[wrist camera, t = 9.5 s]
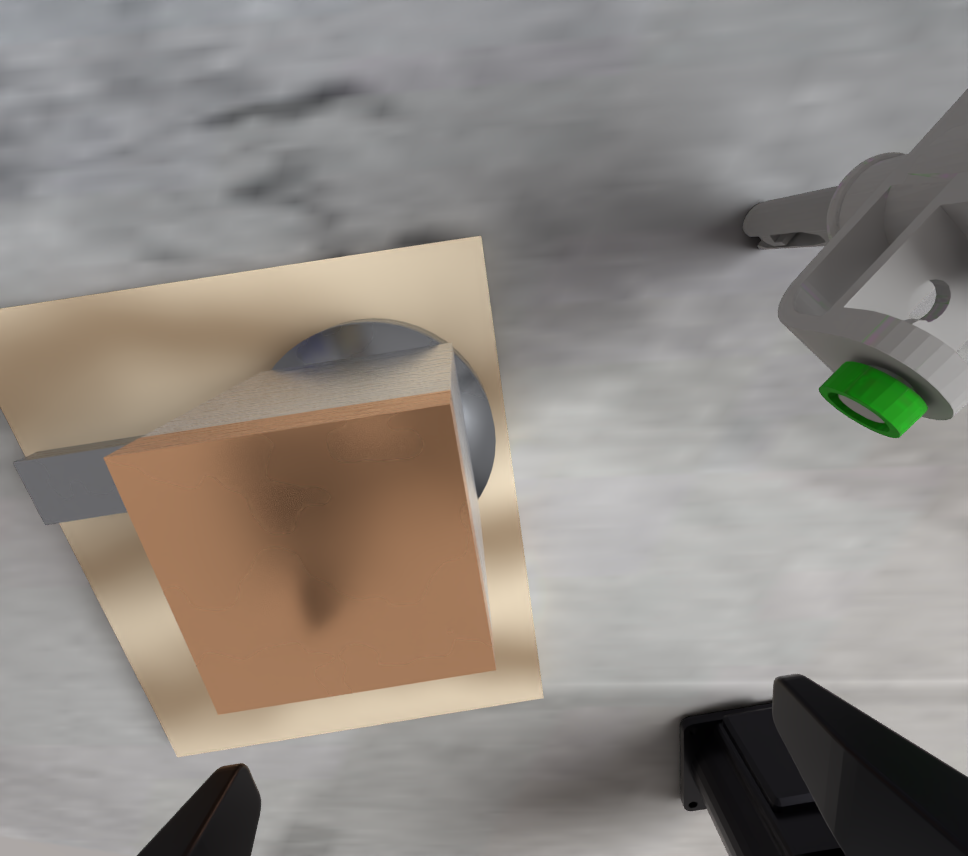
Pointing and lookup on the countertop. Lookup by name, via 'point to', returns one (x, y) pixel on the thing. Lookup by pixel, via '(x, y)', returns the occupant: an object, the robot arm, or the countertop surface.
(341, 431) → the tan box
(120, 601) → the workboard
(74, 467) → the grey frying pan
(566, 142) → the countertop surface
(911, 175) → the mechanical component
